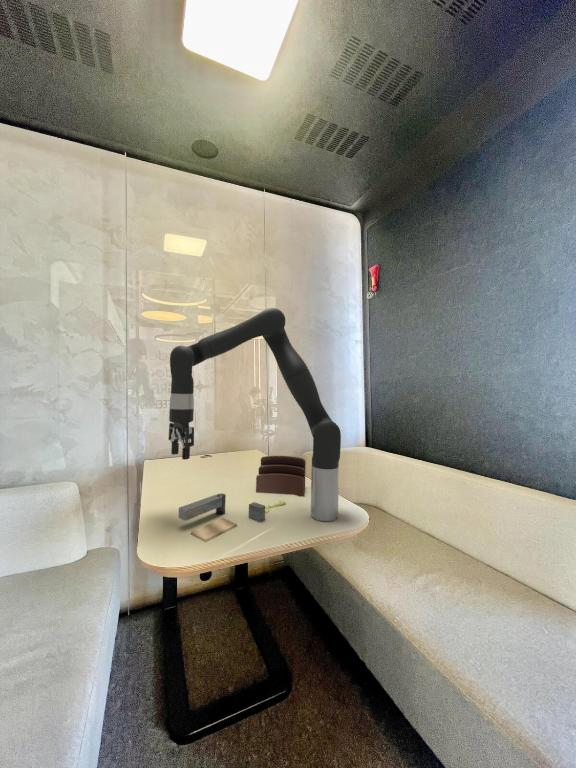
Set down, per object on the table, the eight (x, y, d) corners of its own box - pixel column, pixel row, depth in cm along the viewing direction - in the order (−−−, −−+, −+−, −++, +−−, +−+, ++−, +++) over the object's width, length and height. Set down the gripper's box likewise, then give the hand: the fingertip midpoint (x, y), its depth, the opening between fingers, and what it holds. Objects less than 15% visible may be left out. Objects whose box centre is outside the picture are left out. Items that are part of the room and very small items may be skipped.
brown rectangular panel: (222, 521, 97) (222, 517, 97) (237, 528, 93) (237, 524, 93) (190, 535, 88) (190, 531, 88) (205, 543, 83) (205, 539, 83)
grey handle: (220, 509, 105) (221, 492, 105) (227, 512, 102) (227, 495, 102) (178, 527, 91) (178, 507, 91) (185, 530, 89) (185, 510, 89)
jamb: (226, 505, 109) (226, 492, 109) (264, 521, 98) (265, 505, 98) (203, 515, 101) (203, 500, 101) (242, 532, 90) (243, 516, 90)
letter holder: (260, 486, 132) (261, 454, 132) (305, 488, 130) (305, 456, 130) (255, 494, 122) (256, 459, 122) (304, 497, 120) (304, 462, 120)
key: (287, 506, 111) (287, 501, 111) (263, 517, 102) (263, 511, 102) (273, 501, 116) (273, 496, 116) (249, 511, 106) (249, 505, 106)
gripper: (202, 408, 96) (200, 459, 96) (183, 405, 106) (182, 451, 106) (179, 409, 90) (177, 463, 90) (162, 406, 101) (160, 454, 101)
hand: (180, 456), depth 98 cm, fingers open, 8 cm apart
